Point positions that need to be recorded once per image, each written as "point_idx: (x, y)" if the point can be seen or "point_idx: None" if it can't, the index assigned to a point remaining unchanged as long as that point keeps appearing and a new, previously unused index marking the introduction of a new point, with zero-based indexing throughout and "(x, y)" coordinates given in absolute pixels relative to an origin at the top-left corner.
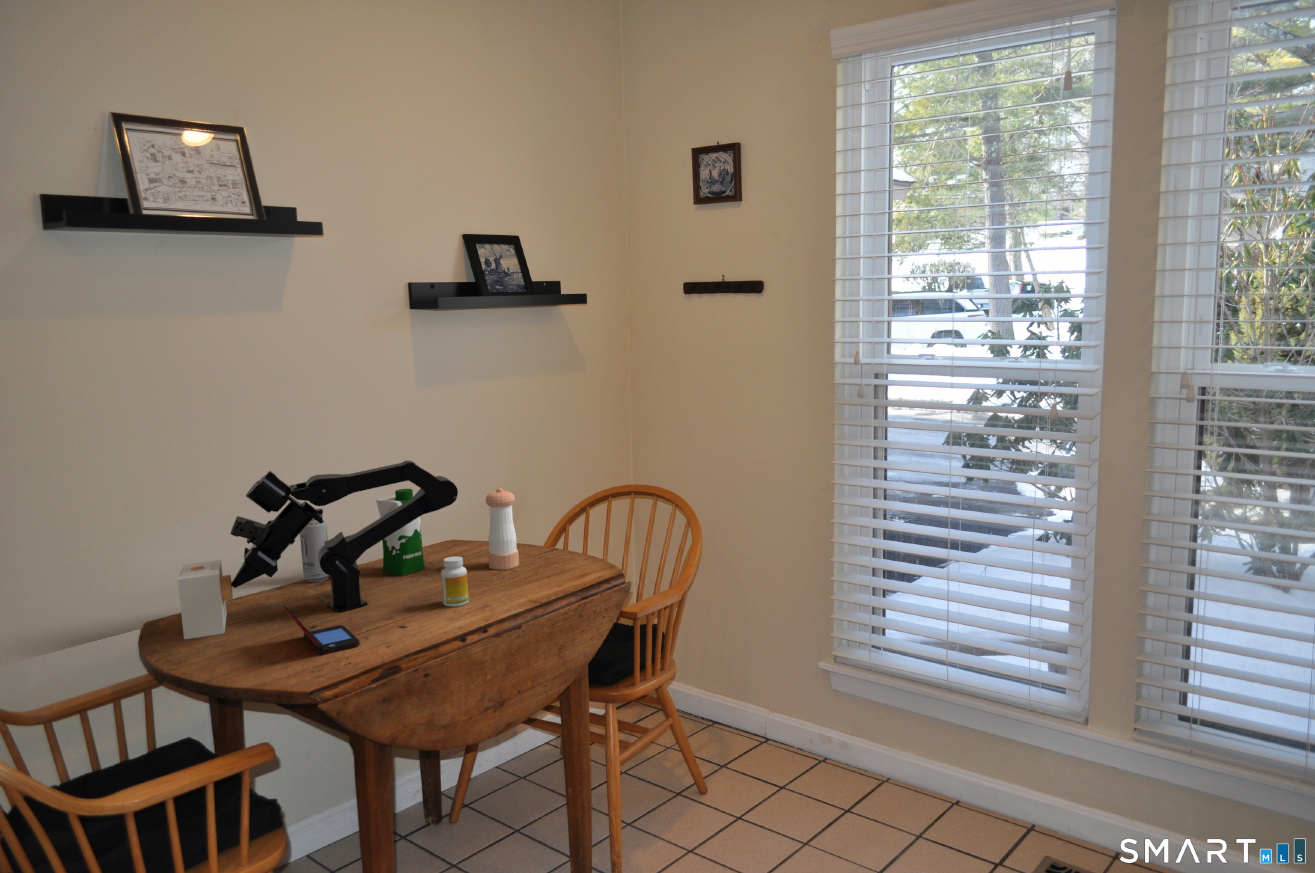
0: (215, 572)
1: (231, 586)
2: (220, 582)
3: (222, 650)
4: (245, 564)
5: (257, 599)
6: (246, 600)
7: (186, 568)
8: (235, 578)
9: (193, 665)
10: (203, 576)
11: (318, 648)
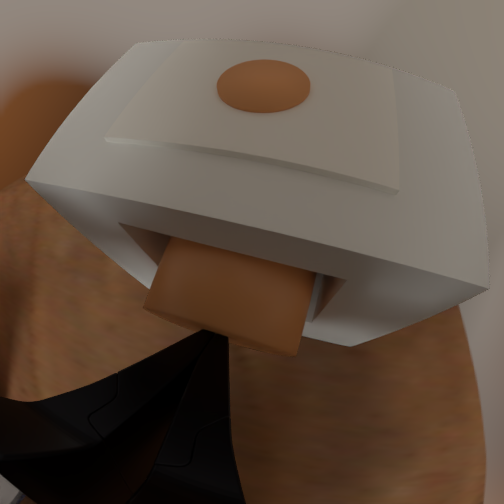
0: (67, 167)
1: (230, 338)
2: (170, 250)
3: (48, 254)
4: (36, 407)
5: (450, 450)
6: (464, 419)
7: (320, 57)
8: (166, 350)
9: (33, 196)
10: (70, 116)
11: None
